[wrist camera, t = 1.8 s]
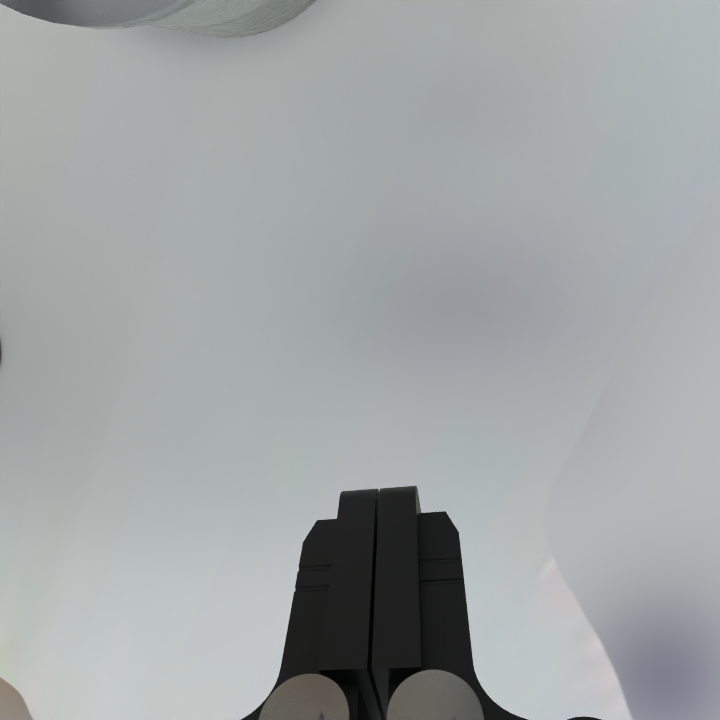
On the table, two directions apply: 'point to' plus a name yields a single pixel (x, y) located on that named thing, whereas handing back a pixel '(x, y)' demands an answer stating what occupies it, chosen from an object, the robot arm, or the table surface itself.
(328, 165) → the table surface
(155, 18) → the lid
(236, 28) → the pot
